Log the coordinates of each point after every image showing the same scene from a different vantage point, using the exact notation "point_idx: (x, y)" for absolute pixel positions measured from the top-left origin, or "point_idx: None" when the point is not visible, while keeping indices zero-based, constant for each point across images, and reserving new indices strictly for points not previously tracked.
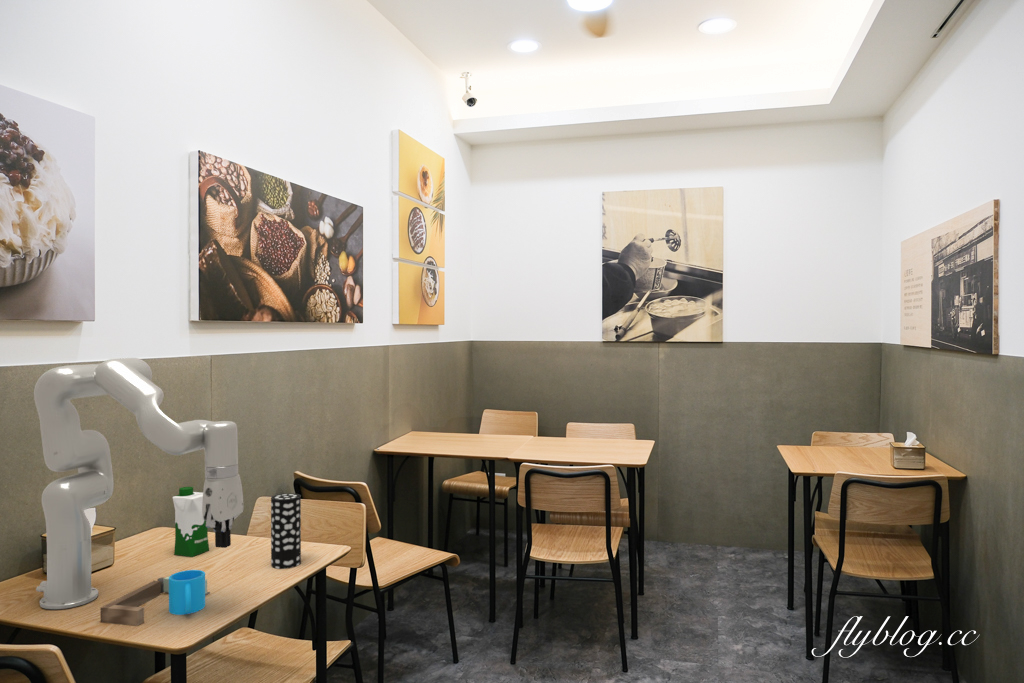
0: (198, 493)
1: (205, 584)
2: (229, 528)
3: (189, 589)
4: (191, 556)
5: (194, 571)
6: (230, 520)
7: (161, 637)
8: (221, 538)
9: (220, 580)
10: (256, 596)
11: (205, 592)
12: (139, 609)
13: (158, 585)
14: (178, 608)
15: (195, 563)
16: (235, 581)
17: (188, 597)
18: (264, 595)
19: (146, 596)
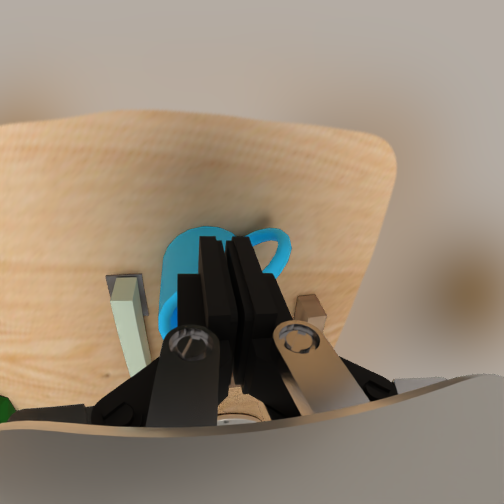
0: None
1: (119, 293)
2: (211, 333)
3: (276, 263)
4: (8, 399)
5: (170, 329)
6: (197, 407)
7: (368, 212)
8: (283, 298)
9: (38, 300)
10: (81, 136)
11: (123, 279)
12: (319, 317)
13: None
14: None
15: (17, 383)
16: (24, 264)
17: (289, 245)
18: (69, 118)
19: None
